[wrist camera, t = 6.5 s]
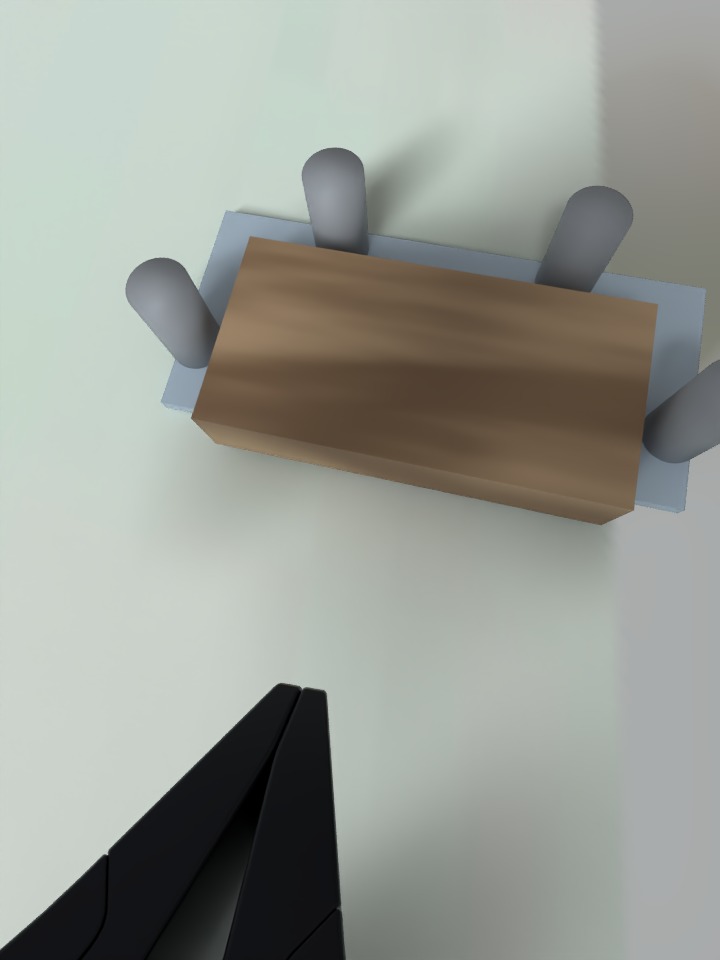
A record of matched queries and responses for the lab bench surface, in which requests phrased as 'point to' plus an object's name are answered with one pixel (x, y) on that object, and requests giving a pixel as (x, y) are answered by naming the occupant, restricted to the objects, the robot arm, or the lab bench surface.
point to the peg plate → (567, 264)
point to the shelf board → (433, 378)
